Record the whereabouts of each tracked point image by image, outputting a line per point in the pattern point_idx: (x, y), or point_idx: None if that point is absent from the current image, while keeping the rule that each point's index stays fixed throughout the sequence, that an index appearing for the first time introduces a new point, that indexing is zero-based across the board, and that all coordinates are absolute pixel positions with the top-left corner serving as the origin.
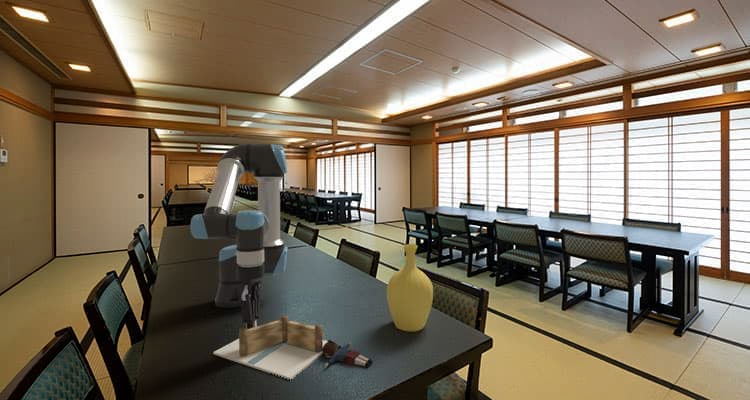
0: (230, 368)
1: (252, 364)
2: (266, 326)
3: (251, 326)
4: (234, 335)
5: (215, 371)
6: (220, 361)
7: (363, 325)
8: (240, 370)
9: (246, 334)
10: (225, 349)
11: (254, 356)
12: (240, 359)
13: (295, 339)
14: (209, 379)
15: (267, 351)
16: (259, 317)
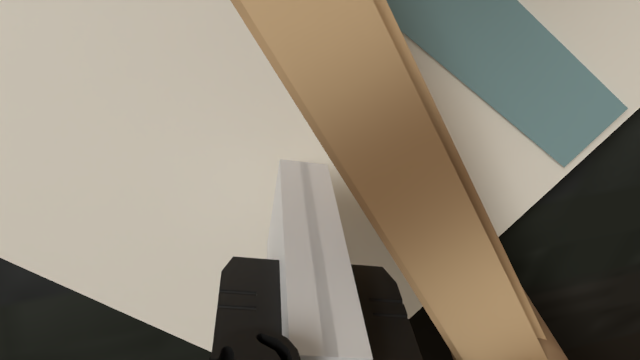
0: (553, 255)
1: (620, 118)
2: (434, 128)
3: (419, 351)
4: (14, 341)
5: (550, 324)
6: (431, 330)
7: None
8: (615, 187)
9: (549, 339)
10: None
11: (485, 124)
12: (493, 223)
13: None
14: (628, 330)
15: (438, 9)
16: (233, 340)
